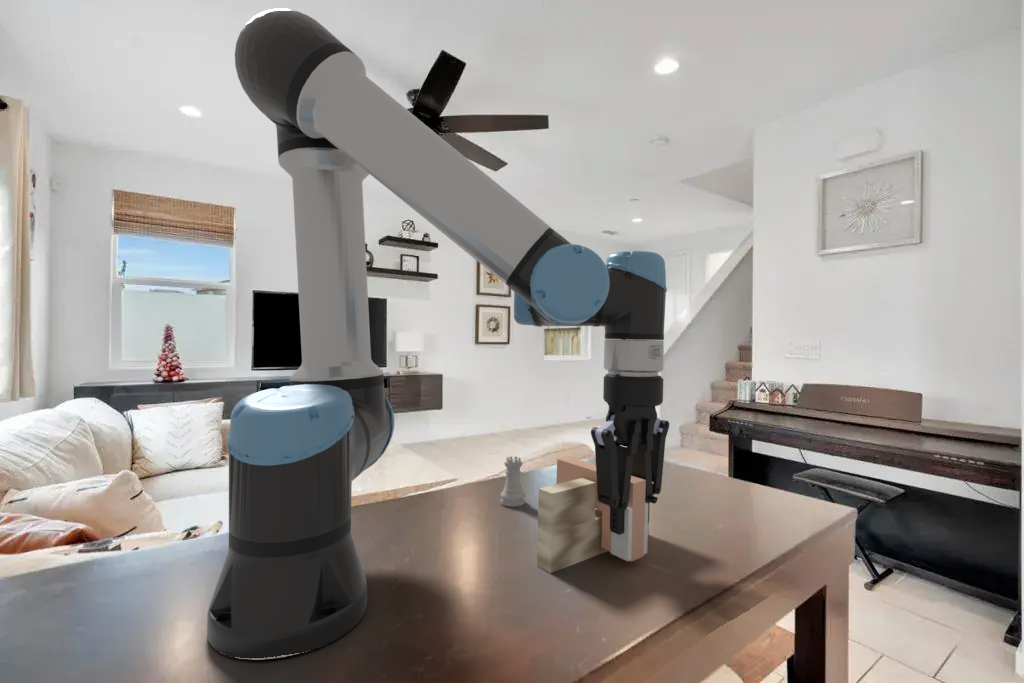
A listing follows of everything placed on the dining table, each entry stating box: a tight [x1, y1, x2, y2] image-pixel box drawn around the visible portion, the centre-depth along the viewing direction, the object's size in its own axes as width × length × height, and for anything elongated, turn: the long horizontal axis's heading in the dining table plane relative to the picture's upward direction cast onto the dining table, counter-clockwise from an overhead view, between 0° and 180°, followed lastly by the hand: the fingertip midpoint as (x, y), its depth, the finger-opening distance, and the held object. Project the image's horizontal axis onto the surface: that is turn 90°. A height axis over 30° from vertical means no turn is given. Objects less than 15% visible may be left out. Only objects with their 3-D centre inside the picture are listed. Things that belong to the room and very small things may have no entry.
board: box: [536, 478, 651, 574], centre depth 69 cm, size 20×2×10 cm, turn 128°
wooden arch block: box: [556, 456, 646, 562], centre depth 69 cm, size 14×2×10 cm, turn 38°
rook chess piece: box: [499, 456, 526, 508], centre depth 87 cm, size 4×4×8 cm
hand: (629, 552), depth 65 cm, fingers closed on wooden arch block, 2 cm apart
